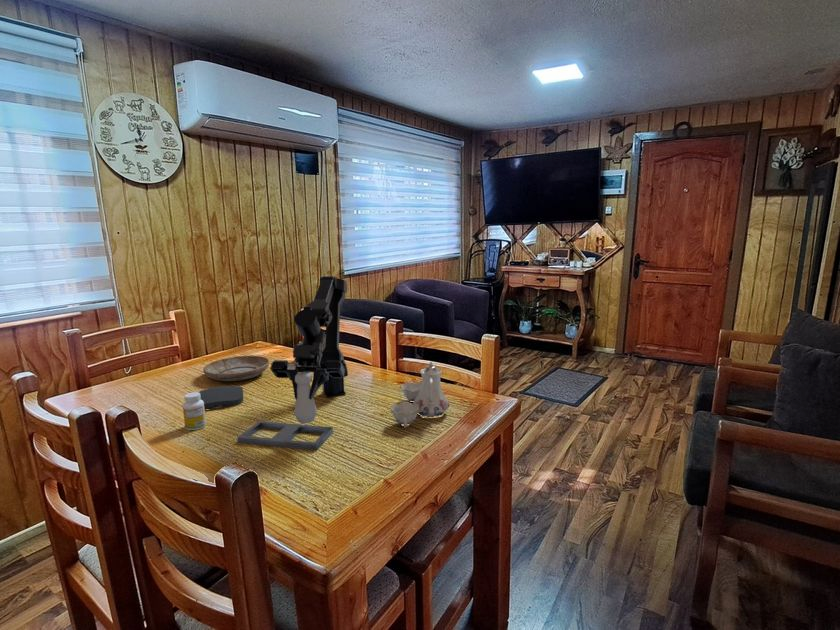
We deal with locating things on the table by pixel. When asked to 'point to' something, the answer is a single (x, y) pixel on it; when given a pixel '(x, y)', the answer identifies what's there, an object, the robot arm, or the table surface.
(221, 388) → the media streaming box
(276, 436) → the hole plate
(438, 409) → the chinaware
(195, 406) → the supplement bottle
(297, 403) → the salt shaker
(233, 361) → the ceramic bowl
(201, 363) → the table surface
